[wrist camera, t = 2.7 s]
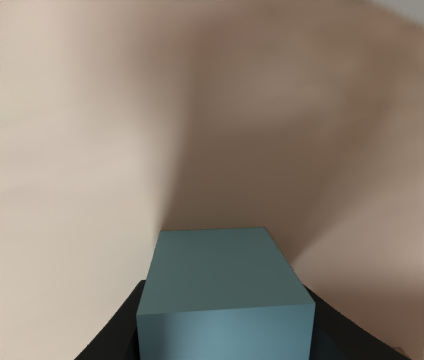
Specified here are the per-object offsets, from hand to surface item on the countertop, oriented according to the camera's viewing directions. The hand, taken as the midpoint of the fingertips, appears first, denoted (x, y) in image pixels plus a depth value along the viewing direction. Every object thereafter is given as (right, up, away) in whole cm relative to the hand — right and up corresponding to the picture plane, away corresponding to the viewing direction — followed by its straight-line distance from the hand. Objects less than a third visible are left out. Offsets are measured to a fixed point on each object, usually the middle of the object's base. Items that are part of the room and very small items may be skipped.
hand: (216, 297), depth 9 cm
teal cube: (0, 0, +1) cm, 2 cm away
